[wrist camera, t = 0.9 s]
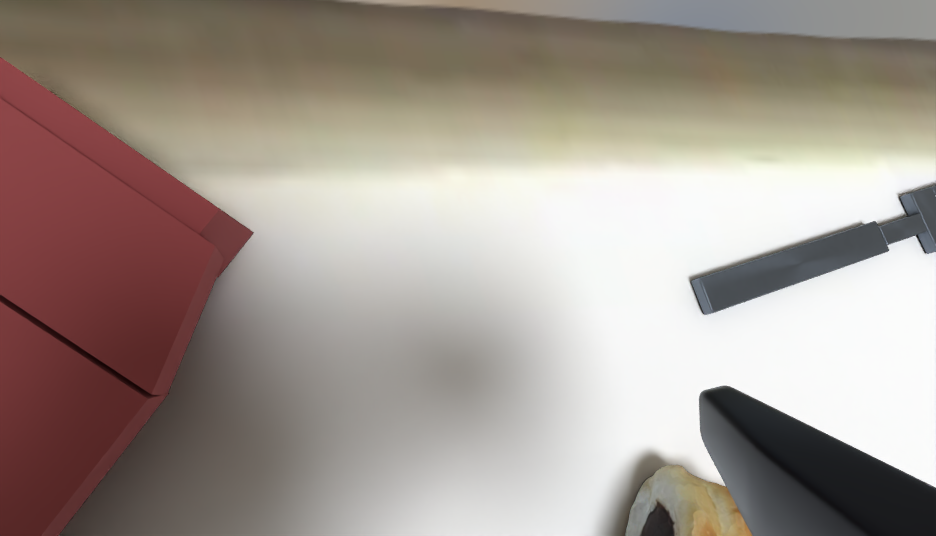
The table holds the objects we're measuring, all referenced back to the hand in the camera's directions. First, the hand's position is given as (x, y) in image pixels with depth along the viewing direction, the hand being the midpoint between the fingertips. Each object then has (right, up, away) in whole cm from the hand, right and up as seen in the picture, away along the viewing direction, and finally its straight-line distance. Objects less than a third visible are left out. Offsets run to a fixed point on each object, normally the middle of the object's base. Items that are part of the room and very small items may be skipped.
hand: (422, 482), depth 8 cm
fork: (+20, +4, +18) cm, 27 cm away
